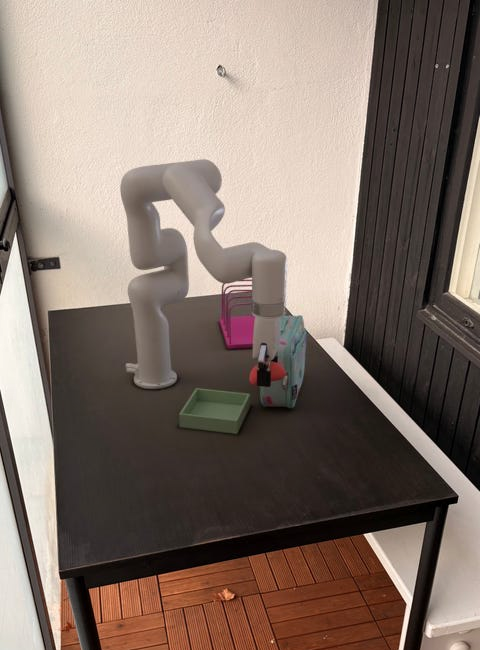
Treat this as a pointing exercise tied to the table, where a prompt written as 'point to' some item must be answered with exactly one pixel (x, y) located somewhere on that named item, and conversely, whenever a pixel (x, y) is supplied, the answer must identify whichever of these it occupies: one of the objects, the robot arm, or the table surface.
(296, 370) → the lunch box
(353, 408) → the table surface
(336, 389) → the table surface
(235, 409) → the tote
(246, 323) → the file sorter
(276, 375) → the red oval piece
